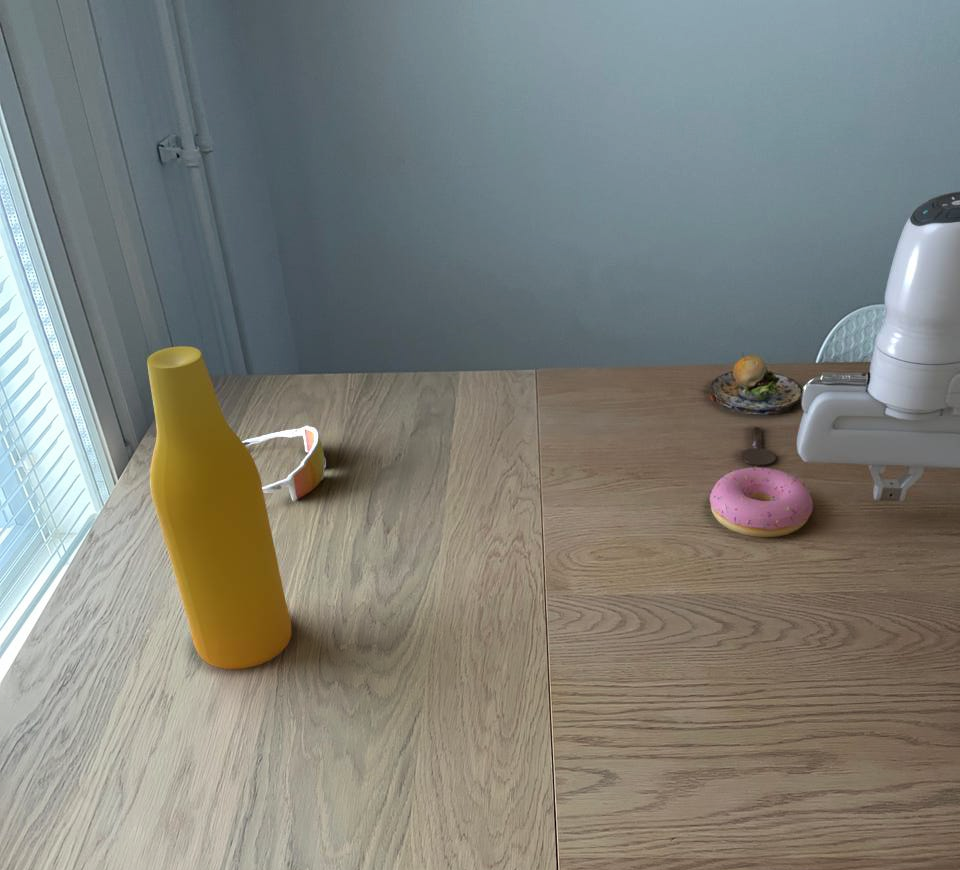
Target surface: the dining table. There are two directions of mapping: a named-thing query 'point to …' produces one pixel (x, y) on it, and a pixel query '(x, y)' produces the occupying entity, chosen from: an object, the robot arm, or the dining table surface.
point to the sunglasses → (310, 467)
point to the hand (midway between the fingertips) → (888, 498)
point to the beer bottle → (213, 519)
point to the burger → (755, 389)
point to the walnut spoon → (757, 452)
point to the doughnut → (761, 502)
